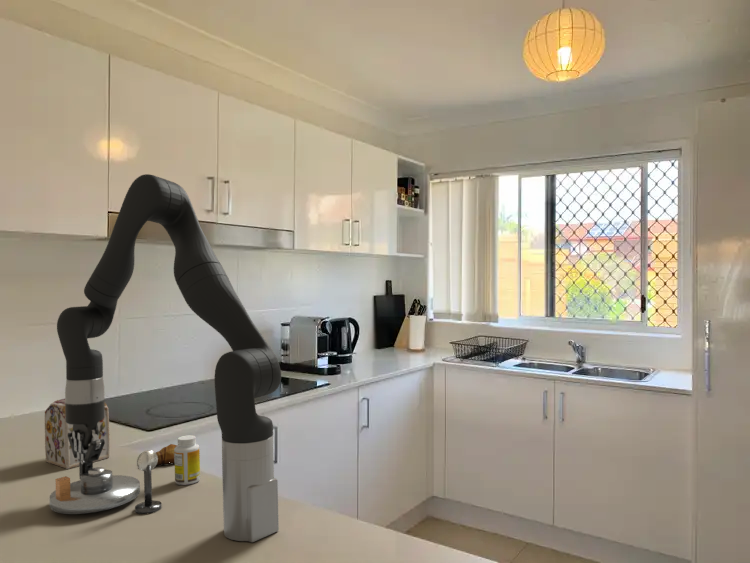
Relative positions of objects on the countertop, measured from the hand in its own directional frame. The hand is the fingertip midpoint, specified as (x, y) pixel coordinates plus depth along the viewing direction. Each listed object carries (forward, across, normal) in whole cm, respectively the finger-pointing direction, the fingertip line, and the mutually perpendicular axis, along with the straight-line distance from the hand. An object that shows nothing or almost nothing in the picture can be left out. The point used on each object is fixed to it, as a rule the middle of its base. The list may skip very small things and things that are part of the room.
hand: (86, 479), depth 122 cm
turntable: (+3, -4, 0) cm, 5 cm away
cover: (+1, -5, 0) cm, 5 cm away
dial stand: (+4, -16, -5) cm, 18 cm away
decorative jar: (+5, +30, -11) cm, 33 cm away
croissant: (+5, +8, -25) cm, 27 cm away
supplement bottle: (+4, -8, -19) cm, 21 cm away
